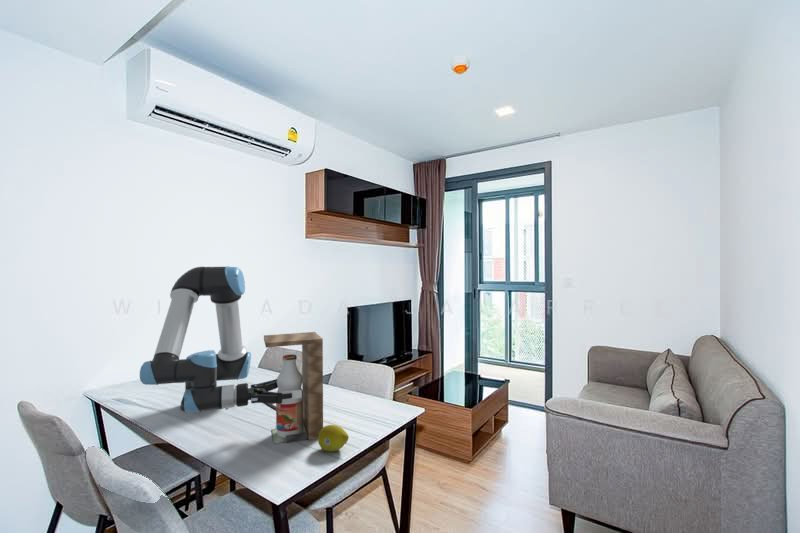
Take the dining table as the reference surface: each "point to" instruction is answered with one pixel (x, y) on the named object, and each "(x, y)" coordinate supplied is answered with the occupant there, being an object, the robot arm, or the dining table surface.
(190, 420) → the dining table surface
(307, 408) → the shelf
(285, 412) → the fruit juice
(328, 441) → the lemon
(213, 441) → the dining table surface
